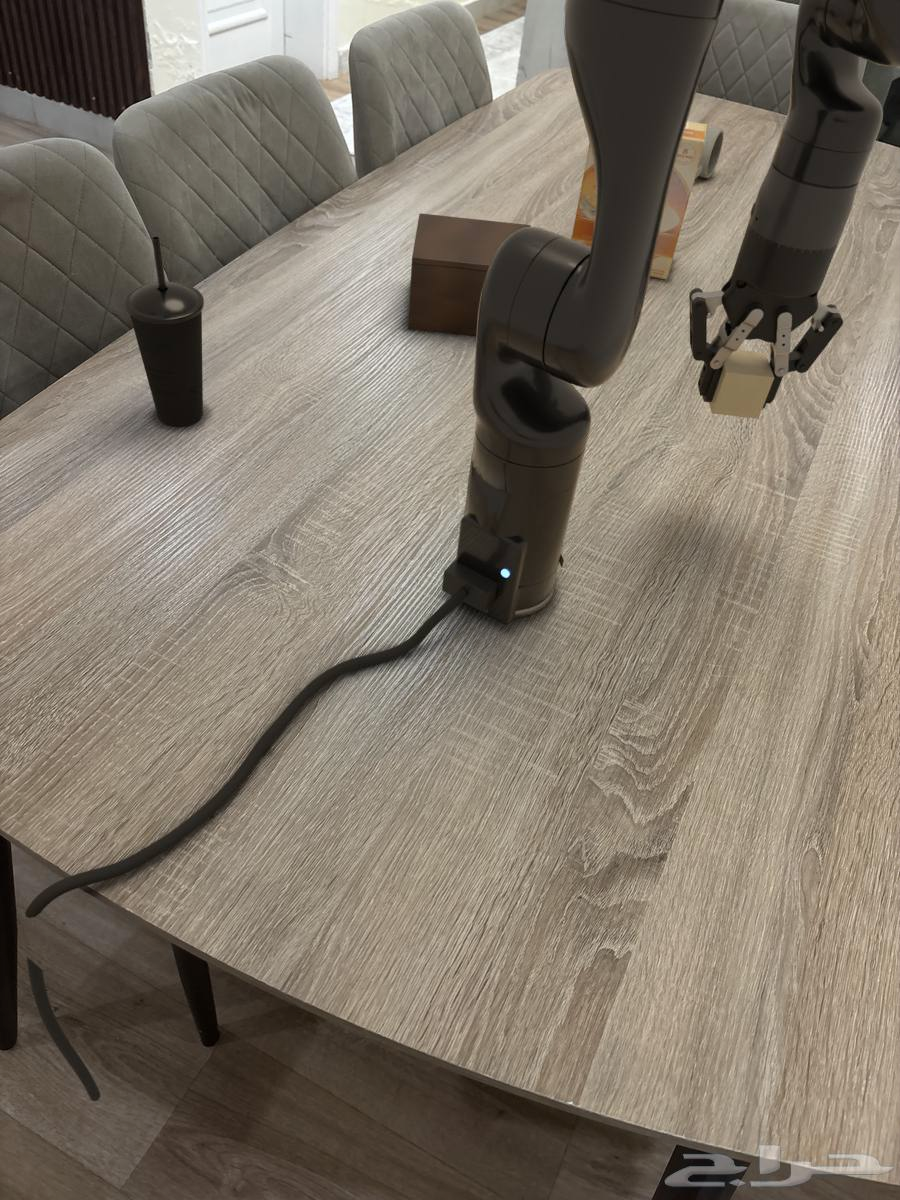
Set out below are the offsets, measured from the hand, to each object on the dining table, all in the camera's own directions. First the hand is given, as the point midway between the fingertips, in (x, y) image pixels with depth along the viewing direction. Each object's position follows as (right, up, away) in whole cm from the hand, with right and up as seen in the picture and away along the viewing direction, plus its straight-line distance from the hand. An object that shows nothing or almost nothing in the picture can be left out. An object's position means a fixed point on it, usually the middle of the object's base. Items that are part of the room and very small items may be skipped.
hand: (732, 400), depth 90 cm
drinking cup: (-57, +1, +13) cm, 58 cm away
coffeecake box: (-2, +31, +49) cm, 58 cm away
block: (0, 0, 0) cm, 0 cm away
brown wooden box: (-25, +19, +34) cm, 47 cm away
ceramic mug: (+14, +55, +75) cm, 94 cm away
